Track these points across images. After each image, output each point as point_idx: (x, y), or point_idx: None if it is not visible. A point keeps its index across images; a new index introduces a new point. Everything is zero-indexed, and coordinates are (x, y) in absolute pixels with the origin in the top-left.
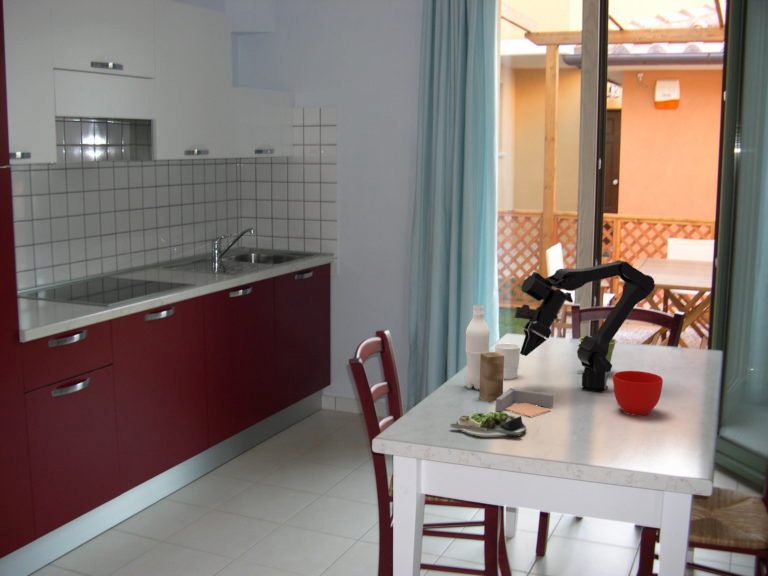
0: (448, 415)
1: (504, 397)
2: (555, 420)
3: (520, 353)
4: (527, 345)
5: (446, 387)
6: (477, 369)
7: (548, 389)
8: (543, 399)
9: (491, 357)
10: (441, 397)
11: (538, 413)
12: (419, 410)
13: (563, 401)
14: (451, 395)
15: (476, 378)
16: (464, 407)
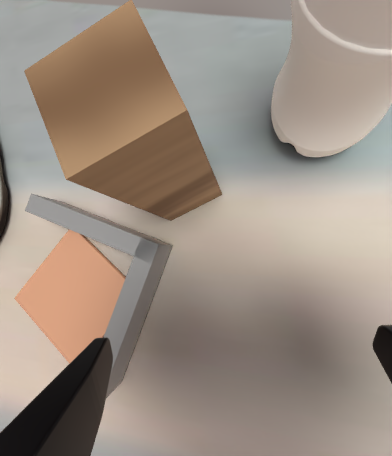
0: (21, 85)
1: (48, 220)
2: (3, 365)
3: (378, 328)
4: (10, 437)
5: (291, 25)
6: (285, 77)
7: (345, 408)
8: None
9: (36, 94)
10: (171, 36)
11: (38, 323)
12: (51, 10)
13: (185, 434)
14: (197, 60)
15: (272, 101)
16: None
